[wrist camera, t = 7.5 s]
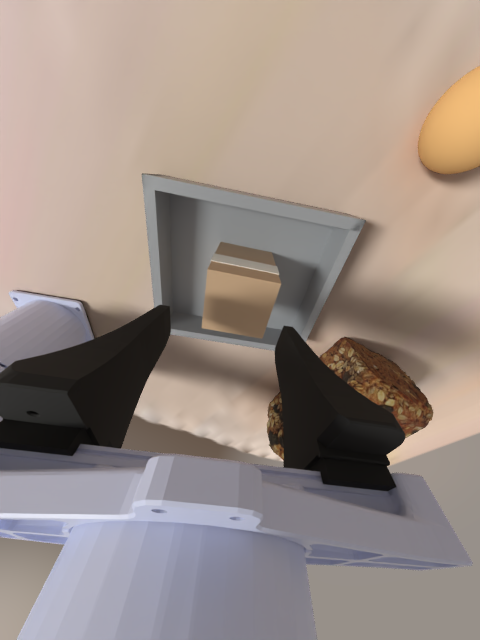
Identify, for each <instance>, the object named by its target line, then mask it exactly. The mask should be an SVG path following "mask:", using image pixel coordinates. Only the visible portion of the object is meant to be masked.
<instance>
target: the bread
mask: <svg viewBox="0 0 480 640" xmlns="http://www.w3.org/2000/svg"><path fill="white" fill-rule="evenodd" d="M320 359H321V360H322V362H323V363H324V364H325V365H327V366H328V367H329V368H330V369H331V370H332V371H333V372H334V373H335V374H336V375H337V376H339V377H340V378H341V379H342V380H344V381H345V382H346V383H347V384H349V385H350V386H351V387H352V388H354V389H355V390H356V391H358V392H359V393H361V394H362V395H364V396H365V397H367V398H368V399H369V400H371V401H372V402H374V403H376V404H377V405H379V406H381V407H382V408H384V409H386V410H387V411H389V412H390V413H392V414H393V415H394V416H395V418H396V420H397V421H398V423H399V424H400V426H401V428H402V429H403V431H404V433H405V438H407V437H408V436H410V435H412V434H414V433H416V432H418V431H419V430H420V429H423V428H425V427H426V426H427V425H428V423H429V421H431V420H432V417H433V410H432V407H431V405H430V404H429V403H428V400H427V398H426V396H425V395H424V394H423V393H422V392H421V391H420V389H419V388H418V387H417V386H416V385H415V383H414V381H412V380H411V379H410V377H409V376H407V375H406V373H405V372H403V371H402V370H401V369H400V368H399V366H398V365H397V364H395V363H394V362H392V361H390V360H387V359H386V358H385V357H383V356H382V355H380V354H378V353H374V352H371V351H369V350H368V349H367V348H365V347H364V346H363V345H361V344H359V343H356V342H354V341H353V340H351V339H349V338H346V337H344V338H341V339H340V340H338V341H337V342H336V343H335V344H334V346H333V347H332V348H330V349H329V350H328V351H327V352H325V353H324V354H322V355H321V356H320ZM268 418H269V420H268V422H267V433H268V437H269V441H270V445H269V446H270V447H271V449H272V450H273V452H274V453H276V454H277V455H279V456H280V457H281V458H282V459H283V460H284V441H283V415H282V400H281V393H279V394H278V395H277V396H276V397H275V398H274V400H273V401H272V402H270V404H269V408H268Z"/></svg>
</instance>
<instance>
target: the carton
mask: <svg viewBox="0 0 480 640" xmlns="http://www.w3.org/2000/svg"><path fill="white" fill-rule="evenodd" d="M280 286H281V281H280V278H279V271H278V268H277V266H276V264H275V261H274V258H273V254H272V252H267V251H263V250H258V249H253V248H248V247H244V246H239V245H234V244H230V243H225V242H220V244H219V246H218V248H217V250H216V252H215V253H214V254H213V257H212V259H211V263H210V265H209V267H208V269H207V279H206V289H205V299H204V309H203V319H202V328H204V329H210V330H215V331H221V332H227V333H232V334H238V335H244V336H249V337H255V338H261V339H262V338H263V335H264V333H265V330H266V327H267V324H268V321H269V318H270V315H271V312H272V309H273V306H274V304H275V301H276V298H277V295H278V292H279V289H280Z"/></svg>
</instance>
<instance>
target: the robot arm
mask: <svg viewBox="0 0 480 640" xmlns="http://www.w3.org/2000/svg"><path fill="white" fill-rule="evenodd" d="M9 295H10V297H11V298H12V300H13V302H14V304H15V305H16V307H17V309H15V310H13V311H11V312H9V313H8V314H6V315H4V316H2V317H0V537H4V538H12V539H21V540H29V541H38V542H46V543H55V544H63V545H64V547H63V549H62V551H61V553H60V555H59V557H58V558H57V561H56V563H55V565H54V567H53V568H52V570H51V572H50V574H49V576H48V578H47V580H46V582H45V584H44V586H43V588H42V590H41V592H40V594H39V596H38V598H37V600H36V602H35V604H34V606H33V608H32V610H31V612H30V614H29V616H28V618H27V620H26V622H25V624H24V626H23V628H22V630H21V632H20V634H19V635H18V638H17V639H16V640H317V635H316V628H315V621H314V615H313V608H312V601H311V595H310V587H309V582H308V574H307V567H306V564H311V565H333V566H356V567H357V566H358V567H377V568H394V569H408V570H432V569H443V568H453V567H464V566H472V564H473V563H472V561H471V559H470V557H469V555H468V554H467V552H466V550H465V549H464V547H463V545H462V543H461V542H460V540H459V538H458V536H457V535H456V533H455V531H454V530H453V528H452V526H451V525H450V523H449V521H448V519H447V518H446V516H445V514H444V512H443V511H442V509H441V507H440V506H439V504H438V502H437V500H436V499H435V497H434V495H433V494H432V492H431V490H430V488H429V487H428V485H427V483H426V482H425V480H424V478H423V477H422V476H420V475H414V474H405V473H392V474H390V472H389V470H388V468H387V466H389V465H390V462H389V460H388V458H387V456H386V455H387V454H388V453H390V452H391V451H393V450H394V449H396V448H397V447H398V446H400V445H401V444H402V443H403V441H404V440H405V433H404V431H403V429H402V428H401V426H400V424H399V423H398V421H397V420H396V418H395V416H394V415H393V414H392V413H390V412H389V411H387V410H386V409H384V408H382V407H381V406H379V405H377V404H376V403H374V402H372V401H371V400H369V399H368V398H367V397H365V396H364V395H362V394H361V393H359V392H358V391H356V390H355V389H354V388H352V387H351V386H350V385H349V384H347V383H346V382H345V381H344V380H342V379H341V378H340V377H339V376H337V375H336V374H335V373H334V372H333V371H332V370H331V369H330V368H329V367H328V366H327V365H325V364H324V363H323V362H322V360H321V359H320V358H319V357H318V356H317V355H316V354H315V353H314V352H313V351H312V349H311V348H310V347H309V346H308V345H307V344H306V342H305V341H304V340H303V339H302V337H301V336H300V335H299V334H298V332H297V331H296V330H295V329H294V328H293V327H290V326H283V329H282V331H281V334H280V336H279V339H278V342H277V344H276V347H275V364H276V370H277V376H278V381H279V387H280V393H281V400H282V415H283V441H284V467H274V466H266V465H258V464H249V463H244V462H240V461H231V460H224V459H214V458H207V457H198V456H189V455H181V454H163V453H155V452H146V451H136V450H129V449H121V447H122V444H123V441H124V438H125V435H126V432H127V429H128V427H129V424H130V421H131V419H132V416H133V413H134V411H135V408H136V406H137V403H138V400H139V398H140V395H141V393H142V391H143V388H144V386H145V384H146V381H147V379H148V377H149V375H150V373H151V371H152V370H153V368H154V366H155V364H156V362H157V361H158V359H159V357H160V355H161V353H162V351H163V350H164V348H165V346H166V344H167V341H168V338H169V336H170V333H171V321H170V306H165V305H158V306H157V307H155V308H153V309H152V310H150V311H149V312H147V313H145V314H144V315H142V316H140V317H139V318H137V319H135V320H133V321H132V322H130V323H128V324H126V325H124V326H122V327H120V328H118V329H116V330H114V331H112V332H110V333H108V334H105V335H103V336H101V337H98V338H96V339H94V336H93V333H92V330H91V327H90V324H89V321H88V318H87V316H86V313H85V310H84V307H83V304H82V303H81V302H80V301H76V300H70V299H64V298H58V297H52V296H46V295H39V294H33V293H27V292H21V291H15V290H13V291H10V292H9Z"/></svg>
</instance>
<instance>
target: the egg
mask: <svg viewBox="0 0 480 640" xmlns="http://www.w3.org/2000/svg"><path fill="white" fill-rule="evenodd" d="M418 153H419V157H420V159H421V161H422V163H423V164H424V165H425V166H426V167H427V168H428V169H430V170H431V171H434V172H437V173H441V174H455V173H461V172H465V171H468V170H471V169H474V168H476V167H479V166H480V66H479V67H477V68H475V69H473V70H472V71H470V72H469V73H467V74H466V75H465V76H463V77H462V78H461V79H460V80H458V81H457V82H456V83H455V84H454V85H453V86H451V87H450V88H449V89H448V90H447V91H446V92H445V93H444V95H443V96H442V97H441V98H440V99H439V100H438V102H437V103H436V104H435V105H434V107H433V108H432V110H431V111H430V113H429V114H428V116H427V118H426V120H425V122H424V124H423V126H422V129H421V132H420V136H419V141H418Z"/></svg>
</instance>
